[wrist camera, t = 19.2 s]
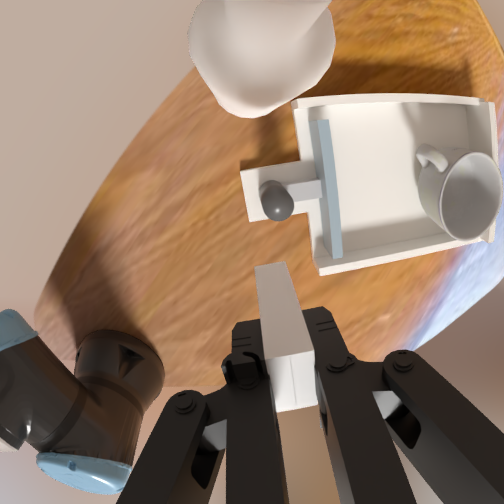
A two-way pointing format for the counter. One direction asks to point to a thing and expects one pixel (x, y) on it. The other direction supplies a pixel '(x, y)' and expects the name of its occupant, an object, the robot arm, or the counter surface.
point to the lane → (378, 171)
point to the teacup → (459, 190)
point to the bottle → (260, 50)
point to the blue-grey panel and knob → (311, 190)
